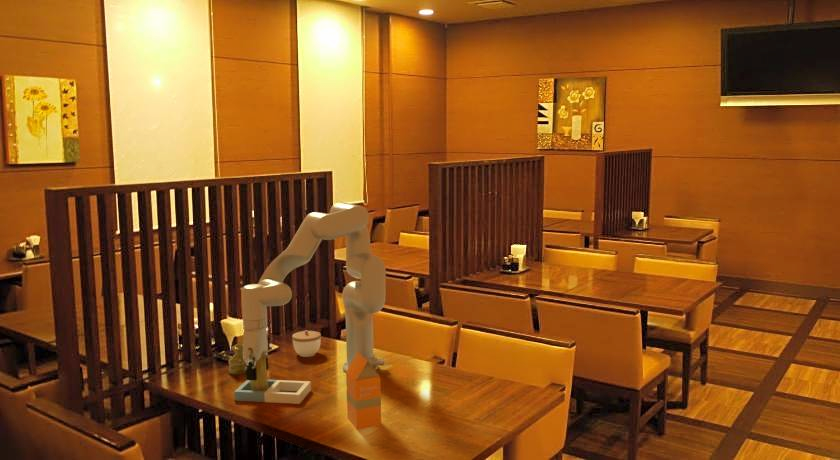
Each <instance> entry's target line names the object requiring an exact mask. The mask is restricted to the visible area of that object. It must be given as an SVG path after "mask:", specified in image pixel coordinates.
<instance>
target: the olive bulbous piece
mask: <svg viewBox="0 0 840 460" xmlns="http://www.w3.org/2000/svg"><path fill="white" fill-rule="evenodd" d="M230 350H231V351H233V352H234V354H233V356H232V357H231V358H229V360H228V365H229V366H228V371H229V373H230V374H232V375H236V376H237V375H239V376H240V375H246V368H245V361H244V359H243V344H241V343H236V344H234V345H232V346H231V349H230Z"/></svg>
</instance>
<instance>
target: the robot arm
mask: <svg viewBox="0 0 840 460" xmlns="http://www.w3.org/2000/svg"><path fill="white" fill-rule="evenodd" d="M369 220H370V215H369V211H368V210H367V209H366V208H365V207H364V206H362V205H359V204H354V203H348V202H337V203H334V204H333V205H332V206H331V208H330V210H329V213H325V212H318V211H314V212H310V213H308V214H307V215H306V217H304V219H303V220H302V222H301V224H300V226H299V228H298V229H297V231H296V232H295V234H294V236H293V238H292V239H291V241H290V243H289V244H288V246H287V247H286V248H285V250H284V251H282V252H281V253H280V254H279V255H278V256H276V257H275V258H274V259H273V260H272V261H271V262H270V263H269V264H268V266H267V267H266V268H265V270H264V271H263V273H262V275H261V277H260V279H259V281H258V283H251V284H246V285H244V286H243V287H242V288H241V308H242V329H243V337H242V345H243V359H244V361H245V368H246V373H245V375H246V380H257V371H256V368H255V365H256V361H257V360H259V359H260V358H261V354H262V353H264V352H266V371H267V370H269V358H268V356H269V353H268V352H269V341H268V333H267V328H268V314H267V313H268V311H267V307H280V306H284V305H286V304H288V303H289V302H290V301H291V299H292V297H293V291H292V288H291V287H290V286H289V285H288V284H286V283H284V282H283V281H284V280H285V278H286V277H287V275H288V274H289V273H291V272H292V271H293V270H295V269H296V268H299V267H301V266H304V265H306V264H308V263H309V262H310V261H311V259H312V258H313V255H314V254H315V252H316V251H317V249H318V247H319V245H320V244H321V242H322V241H324V240H326V241H331V240H335V239H339V238H342V237H345V268H346V273H347V274H348V275H349V276H350V277H353V278H355V279H358V280H360V281H358V280H354V281H350V282H349V283H347V284H346V285H345V287H343V291H342V294H341V296H342V297H341V299H342V303H343V308H344V313H345V315H344V316H345V338H346V339H345V342H346V344H345V345H346V347H345V348H346V362H345V363H343V364H342V370H343V371H344V372H345V373H346V371H347V370H348V368H349V367H350V365H351V363H352V362H353V360H354V358H355V357H356V355H357V353H360V354H361V355H362V356H363V357H364V358H365V359H366V360H367V361H368V362H369V363H370V364H371V366H372V367H373V368H374V370H375V371H377V370H378V369H379V366H386V360H384V358H382V357H381V358H378V357H376V356H377V355H376V353H374V324H373V323H374V319H373V315H374V314H377V313H379V312H380V311H382V309H383V308H384V306H385V302H386V296H387V295H386V293H387V290H386V289H387V286H386V285H387V284H386V283H387V282H386V281H387V279H386V278H387V277H386V275H387V271H386V266H385V262H384V261H383V259H382V258H381V257H380V256H378V255H377V254H374V253H373V254H372V252H371V251H372V250H371V249H372V248H371V247H372V245H371V235H370V231H369V229H368V226H367V225H368V223H369ZM250 361H253V364H252V363H251V362H250Z"/></svg>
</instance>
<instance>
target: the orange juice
mask: <svg viewBox="0 0 840 460" xmlns="http://www.w3.org/2000/svg"><path fill="white" fill-rule="evenodd" d="M345 378H346V379H345V381H346V405H347V406H346V408H347V410H346V412H347V413H346V414H347V416H346V417H347V420H348V421H349V422H350V423H351V424H352V426H353V427H354V428H355V429H356V430H362V429H363V430H364V429H367V428H372V427H378V426H382V394H381V393H382V392H381V389H382V387H381V376H380V375H379V373H378V372H377V370H374V368H373V367H372V366H371V364H370V363H369V362H368V361H367V360H366V359H365V358H364V357H363V356H362V355H361V354H360V353H357V355H356V357H355V358H354V360H353V362H352V363H351V365H350V367H349V368H348V370H347V371H346V372H345Z"/></svg>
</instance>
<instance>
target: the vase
mask: <svg viewBox="0 0 840 460" xmlns="http://www.w3.org/2000/svg"><path fill="white" fill-rule="evenodd" d="M266 358H267V357H266V352H264V353H262V354H261V358H260V359H259V360H257V361H256V365H255V368H256V371H257V380H250V391H267V390H268V380H269V379H268V372H267V370H266ZM250 362H251V363H252V364H253V361H250Z"/></svg>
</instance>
